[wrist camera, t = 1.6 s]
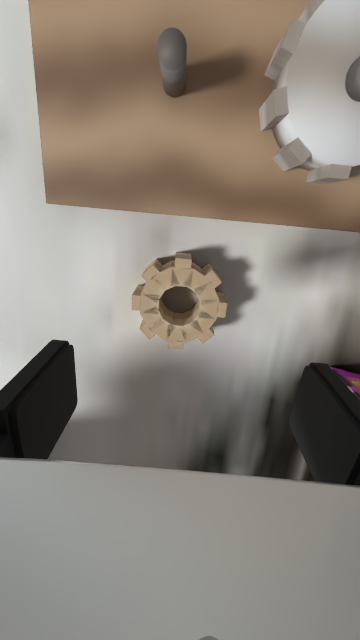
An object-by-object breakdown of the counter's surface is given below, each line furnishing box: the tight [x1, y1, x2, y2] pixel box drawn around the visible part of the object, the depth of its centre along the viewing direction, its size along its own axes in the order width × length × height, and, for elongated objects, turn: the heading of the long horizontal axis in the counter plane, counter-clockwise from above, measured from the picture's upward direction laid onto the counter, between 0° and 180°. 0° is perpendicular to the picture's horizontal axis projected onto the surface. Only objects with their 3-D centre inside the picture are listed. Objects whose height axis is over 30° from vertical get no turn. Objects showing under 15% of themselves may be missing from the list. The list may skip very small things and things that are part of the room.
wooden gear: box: [132, 252, 227, 349], centre depth 22 cm, size 7×7×3 cm
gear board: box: [28, 0, 360, 232], centre depth 15 cm, size 15×24×7 cm, turn 85°
